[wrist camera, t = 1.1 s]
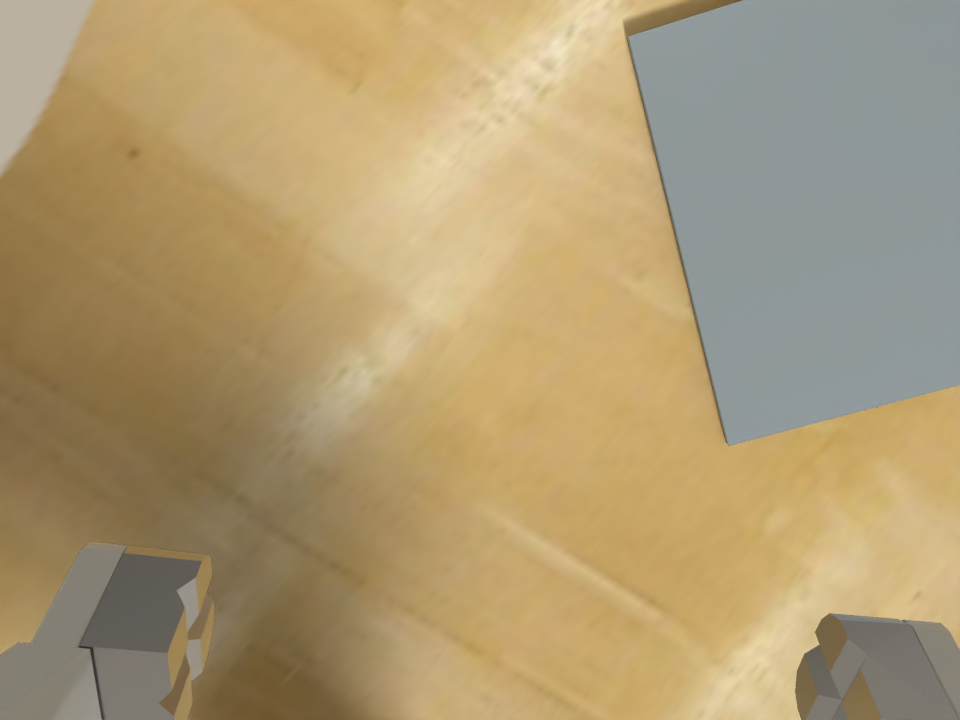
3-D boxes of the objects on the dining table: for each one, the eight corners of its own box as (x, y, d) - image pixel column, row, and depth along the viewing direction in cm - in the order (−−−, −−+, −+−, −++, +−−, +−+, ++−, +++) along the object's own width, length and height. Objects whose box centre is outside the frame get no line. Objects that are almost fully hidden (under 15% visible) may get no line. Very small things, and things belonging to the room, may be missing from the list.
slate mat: (1094, 343, 43) (1102, 347, 42) (725, 441, 45) (728, 445, 44) (1037, -93, 38) (1045, -96, 38) (626, 37, 40) (628, 36, 39)
